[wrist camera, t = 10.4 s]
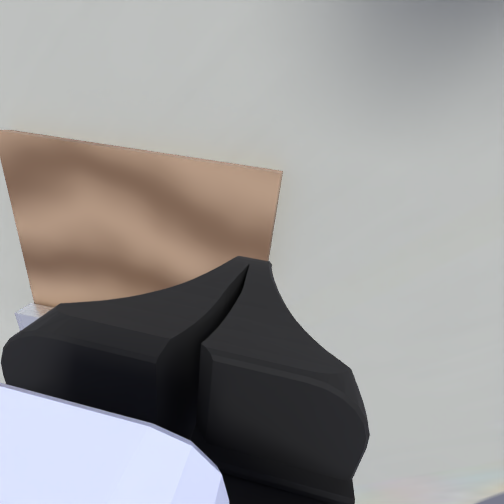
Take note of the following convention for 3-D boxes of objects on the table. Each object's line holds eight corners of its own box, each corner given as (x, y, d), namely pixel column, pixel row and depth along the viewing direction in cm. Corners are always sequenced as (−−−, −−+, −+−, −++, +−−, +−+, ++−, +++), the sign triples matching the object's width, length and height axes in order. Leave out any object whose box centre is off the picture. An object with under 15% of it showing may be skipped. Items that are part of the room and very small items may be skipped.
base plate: (247, 389, 27) (236, 436, 22) (55, 342, 29) (13, 377, 25) (282, 171, 18) (275, 182, 14) (10, 129, 21) (-64, 129, 17)
